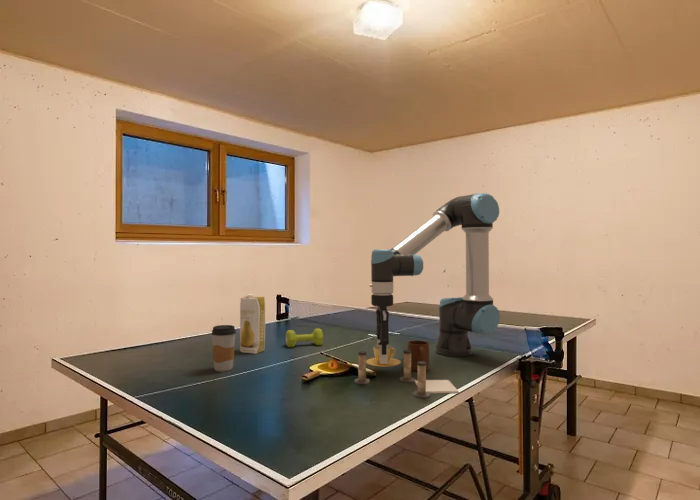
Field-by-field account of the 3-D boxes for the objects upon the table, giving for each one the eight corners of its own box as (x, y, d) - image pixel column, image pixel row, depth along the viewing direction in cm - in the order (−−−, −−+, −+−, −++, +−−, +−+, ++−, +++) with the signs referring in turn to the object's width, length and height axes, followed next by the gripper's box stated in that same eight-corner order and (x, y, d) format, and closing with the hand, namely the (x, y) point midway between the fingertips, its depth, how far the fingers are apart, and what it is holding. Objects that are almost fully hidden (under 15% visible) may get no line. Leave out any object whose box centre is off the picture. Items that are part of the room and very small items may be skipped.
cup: (377, 369, 139) (377, 353, 139) (359, 361, 150) (359, 345, 150) (407, 364, 145) (407, 349, 145) (388, 357, 155) (388, 342, 155)
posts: (417, 377, 143) (418, 349, 143) (431, 398, 123) (432, 364, 123) (353, 378, 142) (353, 349, 142) (357, 398, 122) (357, 365, 122)
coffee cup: (240, 367, 154) (240, 325, 154) (226, 373, 146) (226, 329, 146) (220, 365, 157) (221, 324, 157) (206, 371, 149) (206, 328, 149)
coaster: (448, 381, 139) (448, 379, 139) (458, 393, 128) (458, 391, 128) (414, 382, 138) (414, 380, 138) (422, 393, 127) (422, 391, 127)
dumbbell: (320, 342, 196) (320, 327, 196) (324, 346, 189) (324, 330, 189) (284, 345, 191) (284, 329, 191) (287, 349, 184) (287, 332, 184)
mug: (433, 375, 146) (434, 347, 146) (411, 375, 146) (411, 347, 146) (426, 365, 158) (426, 340, 158) (406, 365, 158) (406, 340, 158)
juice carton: (237, 352, 176) (237, 294, 176) (248, 348, 183) (249, 292, 183) (256, 354, 172) (256, 295, 172) (267, 350, 180) (267, 293, 180)
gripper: (368, 291, 157) (368, 354, 157) (374, 297, 137) (374, 368, 137) (389, 291, 157) (389, 353, 157) (397, 297, 138) (397, 368, 138)
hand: (382, 360), depth 147 cm, fingers closed on cup, 6 cm apart
